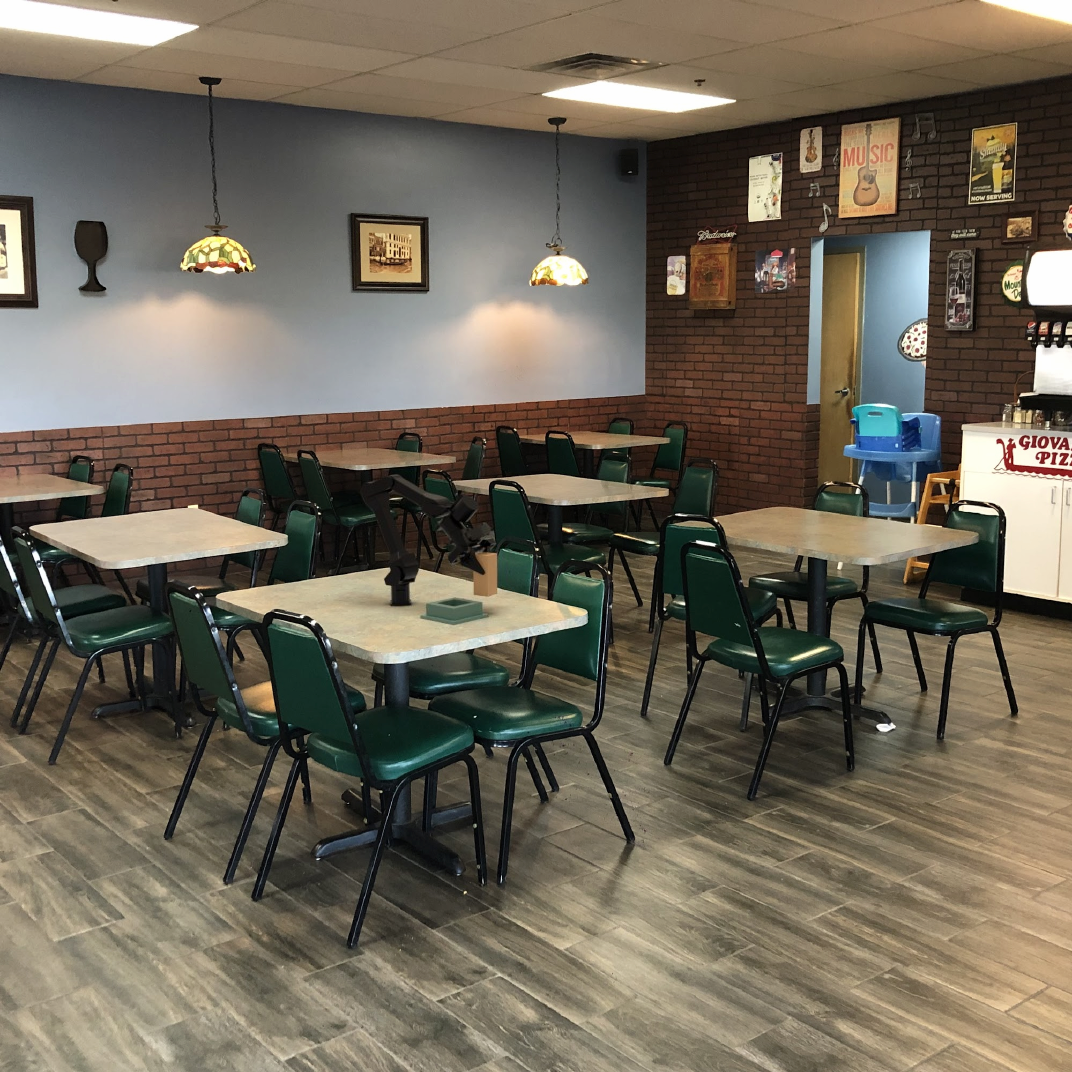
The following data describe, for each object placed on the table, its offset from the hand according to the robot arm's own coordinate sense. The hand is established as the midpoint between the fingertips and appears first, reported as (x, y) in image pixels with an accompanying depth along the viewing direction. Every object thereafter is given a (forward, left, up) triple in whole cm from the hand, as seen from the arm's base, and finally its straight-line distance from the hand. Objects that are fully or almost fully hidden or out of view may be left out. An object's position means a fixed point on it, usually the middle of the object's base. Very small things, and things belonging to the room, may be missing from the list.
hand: (489, 572), depth 353 cm
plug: (-1, -1, -7) cm, 7 cm away
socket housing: (+3, -11, -12) cm, 16 cm away
